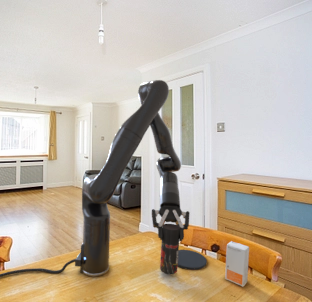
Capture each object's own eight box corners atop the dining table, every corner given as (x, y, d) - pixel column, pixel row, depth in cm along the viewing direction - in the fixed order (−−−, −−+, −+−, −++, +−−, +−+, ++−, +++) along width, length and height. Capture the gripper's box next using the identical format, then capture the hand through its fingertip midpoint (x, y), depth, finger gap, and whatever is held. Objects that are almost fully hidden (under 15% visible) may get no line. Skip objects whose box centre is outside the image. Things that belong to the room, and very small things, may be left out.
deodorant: (177, 275, 74) (179, 231, 73) (159, 272, 75) (161, 228, 75) (177, 266, 80) (180, 224, 79) (160, 263, 81) (163, 222, 80)
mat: (171, 268, 81) (171, 266, 81) (168, 250, 95) (168, 248, 95) (210, 271, 80) (211, 268, 80) (201, 252, 94) (202, 250, 94)
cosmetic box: (224, 279, 75) (226, 244, 75) (229, 274, 78) (230, 240, 78) (243, 287, 71) (245, 250, 71) (248, 282, 74) (249, 246, 74)
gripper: (151, 190, 85) (150, 233, 73) (189, 192, 84) (194, 236, 72) (150, 200, 90) (149, 242, 78) (186, 202, 89) (191, 245, 77)
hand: (171, 239), depth 75 cm, fingers closed on deodorant, 6 cm apart
